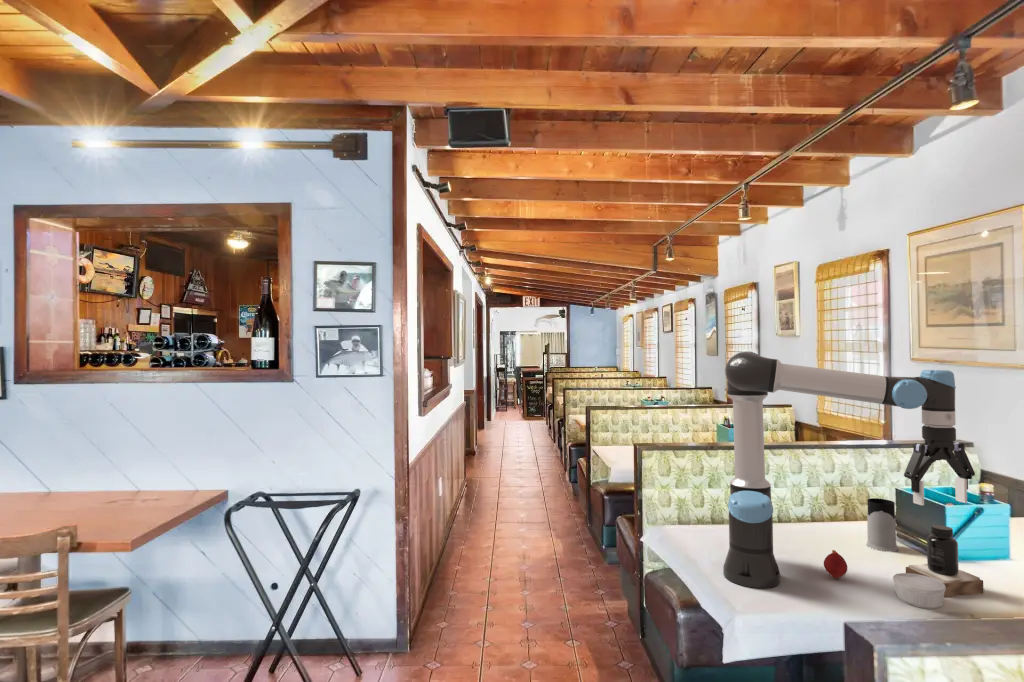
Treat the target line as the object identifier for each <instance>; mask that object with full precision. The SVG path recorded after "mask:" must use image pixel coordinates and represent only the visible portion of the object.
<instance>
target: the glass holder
mask: <svg viewBox="0 0 1024 682" xmlns="http://www.w3.org/2000/svg"><path fill="white" fill-rule="evenodd" d="M895 505H896V503H895V502H894V500H893V501H892V500H890V499H885V498H878V497H877V498H875V497H874V498H873V497H871V498H868V499H867V513H866V518H867V519H866V520H867V523H866V524H867V527H866V529H867V542H866V544H865V545H866V547H868V548H869V547H871V548H870V549H872V548H873V549H872V550H875V549H877V550H876V551H879V550H882V551H881V552H886V551H894V552H897V551H898V550H899V549H898V547H897V525H896V524H897V523H896V518H897V517H896V512H895V511H896V510H895V509H896V507H895Z"/></svg>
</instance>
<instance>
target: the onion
mask: <svg viewBox="0 0 1024 682" xmlns="http://www.w3.org/2000/svg"><path fill="white" fill-rule="evenodd" d="M823 567H824V569H825V571H826V572H827V573H828V574H829V575H830V576H831V578H833V579H834V580H836V579H840V578H842V577H843V576H845V574H847V572H848V564H847V561H846V560H845V558H844V557H843V556H842V555H841V554H839V553H838V552H837V551H836V550H835V549H832V552H831V553H829V554H828V555H827V556H826V557H825V558H824V560H823Z"/></svg>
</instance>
